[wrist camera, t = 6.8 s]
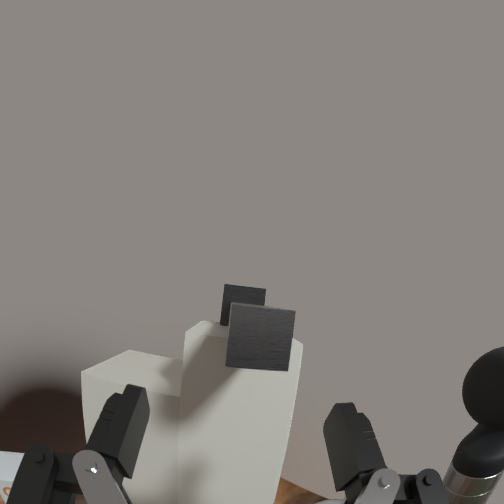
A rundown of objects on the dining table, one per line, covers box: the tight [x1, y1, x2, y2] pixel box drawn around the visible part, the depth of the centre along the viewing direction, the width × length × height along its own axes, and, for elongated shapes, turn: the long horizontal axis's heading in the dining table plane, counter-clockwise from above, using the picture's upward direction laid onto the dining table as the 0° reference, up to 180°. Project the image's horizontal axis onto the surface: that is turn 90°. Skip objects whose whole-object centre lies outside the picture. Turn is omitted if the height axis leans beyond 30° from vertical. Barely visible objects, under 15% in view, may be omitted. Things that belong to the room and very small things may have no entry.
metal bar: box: [220, 284, 295, 372], centre depth 24 cm, size 24×5×5 cm, turn 4°
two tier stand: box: [81, 320, 303, 504], centre depth 25 cm, size 14×20×34 cm
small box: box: [0, 451, 24, 504], centre depth 11 cm, size 8×6×13 cm
